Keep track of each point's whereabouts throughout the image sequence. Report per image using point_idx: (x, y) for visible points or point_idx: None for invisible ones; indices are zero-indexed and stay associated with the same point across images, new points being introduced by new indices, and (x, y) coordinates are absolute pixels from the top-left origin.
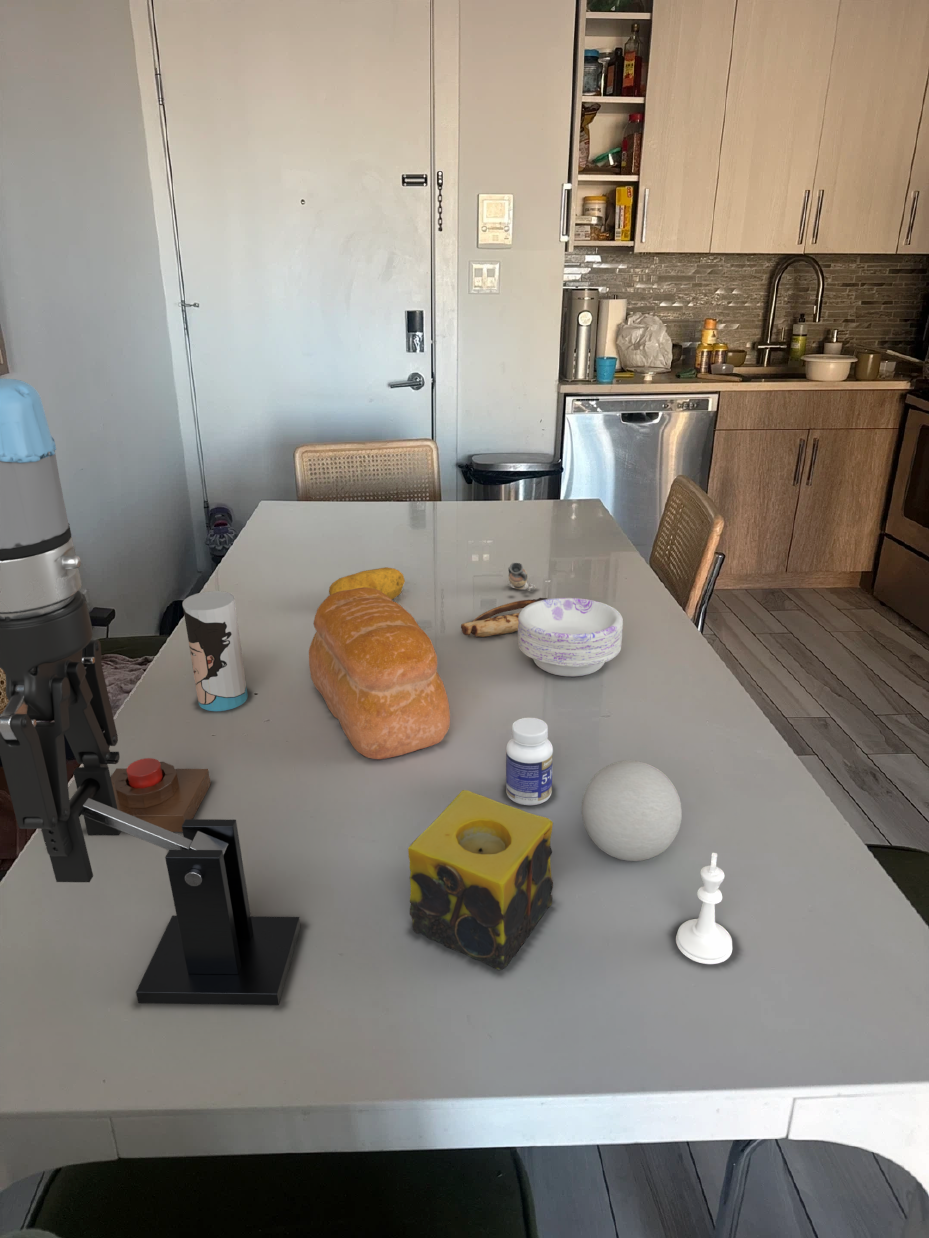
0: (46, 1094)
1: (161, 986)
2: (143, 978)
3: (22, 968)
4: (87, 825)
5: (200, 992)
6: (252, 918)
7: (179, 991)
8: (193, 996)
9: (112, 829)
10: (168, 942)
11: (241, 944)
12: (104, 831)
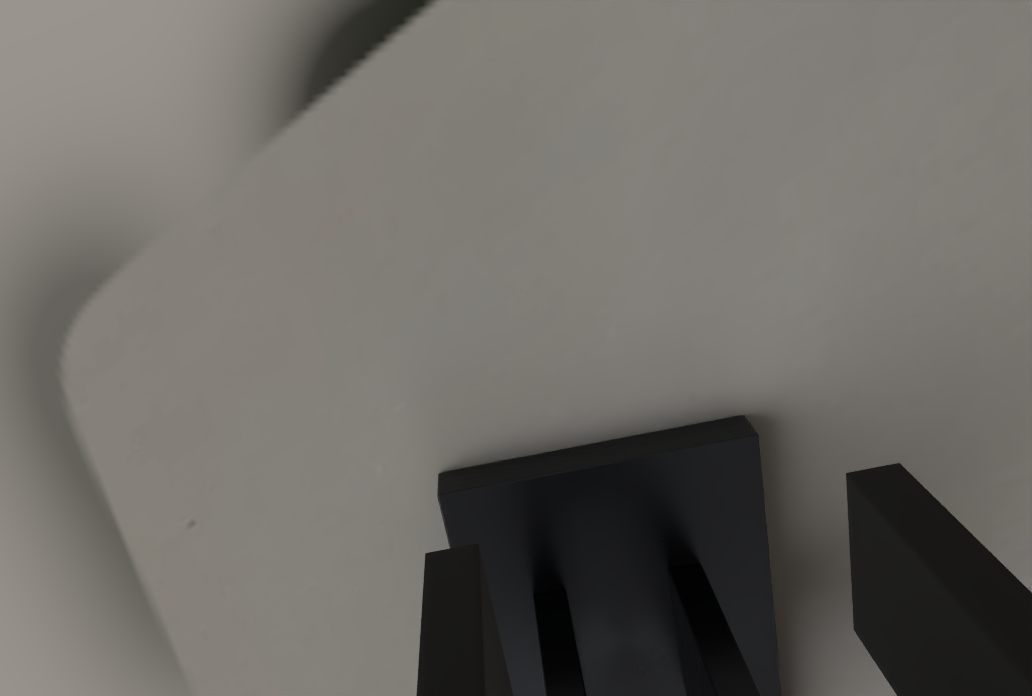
0: (102, 410)
1: None
2: (489, 489)
3: (484, 15)
4: (879, 524)
5: None
6: (767, 658)
7: None
8: None
9: (871, 634)
10: (641, 482)
11: (664, 672)
12: (862, 583)
